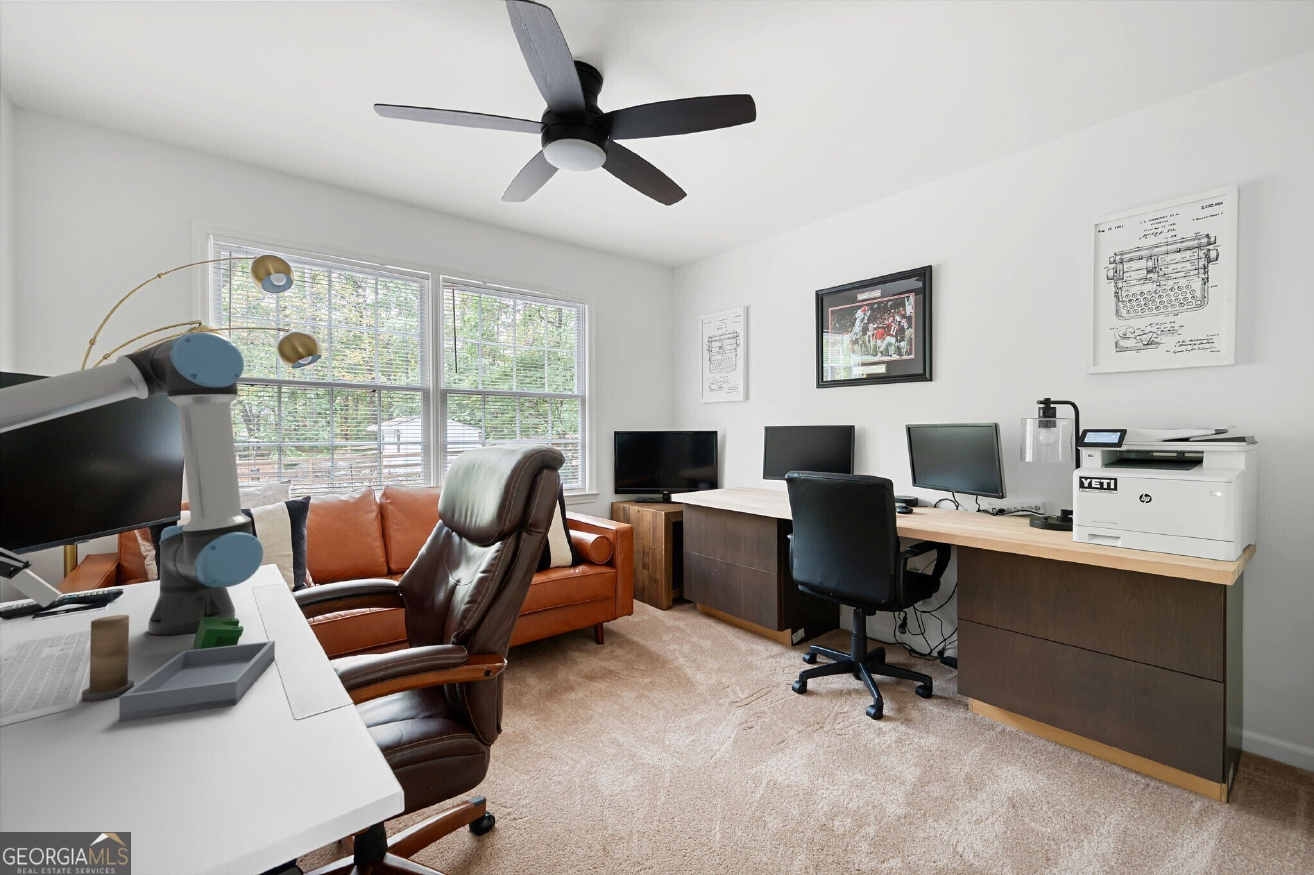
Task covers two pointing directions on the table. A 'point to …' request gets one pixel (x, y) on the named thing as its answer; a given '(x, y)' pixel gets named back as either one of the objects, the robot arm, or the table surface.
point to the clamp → (217, 632)
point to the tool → (108, 659)
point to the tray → (198, 681)
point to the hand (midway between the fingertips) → (23, 611)
